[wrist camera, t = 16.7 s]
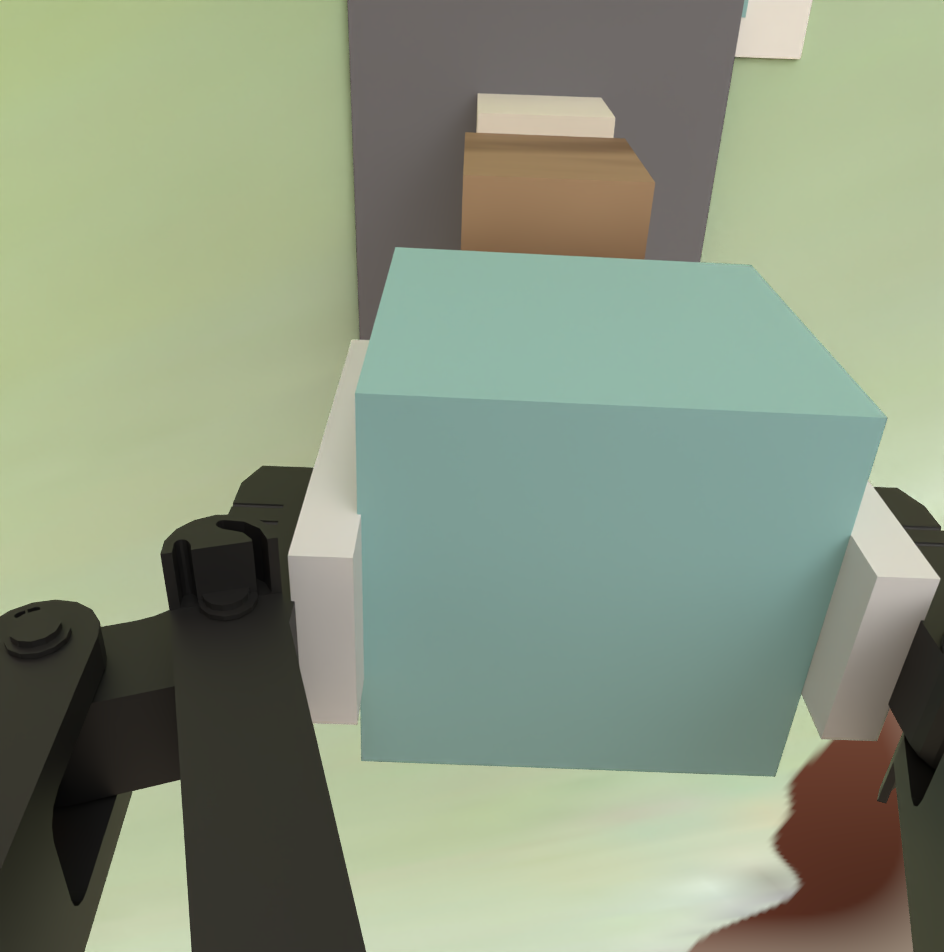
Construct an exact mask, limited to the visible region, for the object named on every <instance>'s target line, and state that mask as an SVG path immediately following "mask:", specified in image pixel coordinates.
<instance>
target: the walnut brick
mask: <svg viewBox="0 0 944 952" xmlns="http://www.w3.org/2000/svg"><path fill="white" fill-rule="evenodd" d="M654 188H655V181H654V180H653V179H652V177H651V176H650V174H649V173H648V171H647V170H646V168H645V167H644V165H643V164H642V163H641V161H640V160H639V158H638V157H637V155H636V154H635V152H634V151H633V149H632V148H631V147H630V145H629V144H628V142H627V141H626V139H625V138H599V137H574V136H549V135H523V134H498V133H473V132H465V147H464V168H463V196H462V228H461V250H462V251H482V252H502V253H522V254H542V255H562V256H582V257H602V258H622V259H642V260H644V259H645V252H646V245H647V238H648V231H649V224H650V216H651V209H652V202H653V195H654Z"/></svg>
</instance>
